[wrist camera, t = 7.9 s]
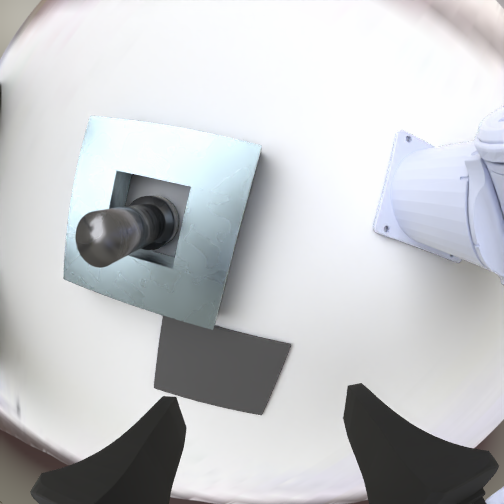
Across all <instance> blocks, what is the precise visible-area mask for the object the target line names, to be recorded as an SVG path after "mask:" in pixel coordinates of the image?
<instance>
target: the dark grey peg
mask: <svg viewBox="0 0 504 504" xmlns="http://www.w3.org/2000/svg"><path fill="white" fill-rule="evenodd" d="M178 226H179V217H178V213H177V210H176V208H175V206H174V205H173V204H172V203H171V202H170V201H169V200H168V199H166V198H164V197H161V196H144V197H140V198H138V199H136V200H135V201H133V202H132V203H131V204H130V205H129V206H125V207H118V208H111V209H104V210H98V211H92V212H89V213H87V214H86V215H84V216H83V217H82V218H81V220H80V221H79V223H78V225H77V228H76V234H75V240H76V246H77V249H78V251H79V254H80V255H81V257H82V258H83V259H84V260H85V261H86V262H87V263H88V264H90V265H91V266H94V267H98V268H103V267H106V266H109V265H110V264H112V263H114V262H116V261H118V260H120V259H122V258H124V257H126V256H127V255H129V254H131V253H133V252H135V251H137V250H139V249H144V250H154V249H157V248H159V247H161V246H163V245H165V244H166V243H168V242H169V241H171V240H172V239H173V237H174V236H175V234H176V232H177V230H178Z"/></svg>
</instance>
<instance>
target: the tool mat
mask: <svg viewBox="0 0 504 504" xmlns="http://www.w3.org/2000/svg"><path fill="white" fill-rule="evenodd" d="M290 347H291V344H289V343H284V342H279V341H275V340H270V339H266V338H262V337H257V336H253V335H249V334H245V333H241V332H237V331H233V330H229V329H225V328H221V327H218V326H214V328H213V330H211V329H208V328H204V327H200V326H197V325H193V324H190V323H186V322H183V321H180V320H176V319H173V318H170V317H167V316H163V320H162V326H161V333H160V340H159V348H158V355H157V363H156V372H155V381H154V388H156V389H159V390H162V391H165V392H168V393H171V394H174V395H178V396H181V397H184V398H188V399H192V400H195V401H199V402H203V403H207V404H211V405H215V406H219V407H223V408H228V409H232V410H237V411H242V412H247V413H252V414H258V415H262V414H263V412H264V409H265V407H266V405H267V403H268V400H269V398H270V396H271V393H272V391H273V389H274V386H275V384H276V382H277V379H278V377H279V374H280V372H281V370H282V367H283V365H284V362H285V360H286V357H287V355H288V352H289V350H290Z"/></svg>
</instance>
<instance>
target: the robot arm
mask: <svg viewBox="0 0 504 504" xmlns="http://www.w3.org/2000/svg"><path fill="white" fill-rule="evenodd" d="M406 137H408V138H409V142H407V141H406ZM386 225H387V227H388V230H387V231H386V232H384V227H385V226H386ZM373 228H374V231H375V232H376V233H378V234H381V235H384V236H387V237H390V238H393V239H396V240H398V241H401V242H404V243H407V244H409V245H412V246H415V247H417V248H420V249H423V250H425V251H428V252H431V253H433V254H436V255H439V256H441V257H444V258H446V259H449V260H451V261H454V262H456V263H460V262H461V261H462V259H463V260H466V261H468V262H470V263H473V264H475V265H478V266H480V267H482V268H485V269H487V270H489V271H492V272H494V273H496V274H497V275H498V276H499V277H500V279H501V283H502V285H504V106H502V107H501V108H499V109H497V110H495V111H494V112H492V113H491V114H489V115H488V116H487V117H486V118H484V119H483V120H482V122H481V123H480V125H479V128H478V132H477V134H476V136H475V139H474V141H468V142H462V143H456V144H450V145H445V146H439V147H434V146H432V145H431V144H429V143H427V142H425V141H423V140H421V139H420V138H418V137H416V136H414V135H412V134H410V133H408V132H406V131H404V130H400V131H398V132H397V133H396V136H395V141H394V146H393V150H392V155H391V160H390V164H389V168H388V173H387V177H386V181H385V185H384V189H383V193H382V196H381V200H380V204H379V207H378V211H377V215H376V218H375V221H374V226H373ZM450 254H451V256H450ZM343 419H344V423H345V428H346V432H347V436H348V439H349V442H350V444H351V447H352V450H353V452H354V455H355V457H356V460H357V463H358V465H359V468H360V470H361V473H362V476H363V479H364V482H365V487H366V491H367V496H368V500H369V504H504V487H502V488H501V489H500V490H498V491H497V492H496V493H494V494H493V495H491V496H490V497H489V498H488V499H486V500H484V499H483V497H482V496H484V495H485V491H484V490H483V487H484V486H485V485H486V484H487V483H488V481H489V480H490V479H491V478H492V477H493V476H494V474H495V473H496V471H497V469H498V467H499V465H498V463H497V462H496V460H495V459H494V457H493V456H492V455H491V453H490V452H489V451H485V450H478V449H473V448H468V447H464V446H460V445H457V444H453V443H450V442H448V441H445V440H442V439H440V438H438V437H435V436H433V435H431V434H429V433H427V432H425V431H423V430H421V429H419V428H418V427H416V426H414V425H413V424H411V423H409V422H408V421H406V420H405V419H404V418H402V417H401V416H399V415H398V414H397V413H395V412H394V411H393V410H392V409H390V408H389V407H388V406H387V405H386V404H384V403H383V402H382V401H381V400H380V399H379V398H377V397H376V396H375V395H374V394H373V393H372V392H371V391H370V390H369V389H368V388H366V387H365V386H364V385H363V384H362V383H360V384H355V385H350V386H348V389H347V397H346V404H345V410H344V417H343ZM185 435H186V425H185V422H184V419H183V416H182V413H181V410H180V407H179V404H178V401H177V398H176V397H168V396H163V397H162V398H161V399H160V400H159V401H158V402H157V403H156V404H155V405H154V406H153V407H152V408H151V409H150V410H149V411H148V412H147V413H146V414H145V415H144V416H143V417H142V418H141V419H140V420H139V421H138V422H137V423H136V424H135V425H134V426H132V427H131V428H130V429H129V430H128V431H127V432H125V433H124V434H123V435H122V436H121V437H120V438H118V439H117V440H116V441H114V442H113V443H111V444H110V445H109V446H107V447H105V448H104V449H102V450H101V451H99V452H97V453H95V454H94V455H92V456H90V457H88V458H86V459H84V460H82V461H80V462H77V463H75V464H72V465H70V466H67V467H64V468H61V469H57V470H53V471H49V472H45V473H42V474H41V475H40V477H39V478H38V480H37V482H36V483H35V485H34V486H33V488H32V490H31V495H32V497H33V498H34V499H35V500H36V501H37V502H38V503H39V504H169V500H170V494H171V489H172V485H173V481H174V478H175V475H176V471H177V468H178V465H179V462H180V458H181V455H182V451H183V448H184V442H185Z"/></svg>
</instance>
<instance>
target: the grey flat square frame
mask: <svg viewBox="0 0 504 504" xmlns="http://www.w3.org/2000/svg"><path fill="white" fill-rule="evenodd" d="M261 148H262V146H261V145H258V144H254V143H250V142H246V141H242V140H238V139H233V138H229V137H225V136H220V135H216V134H211V133H206V132H201V131H196V130H191V129H186V128H180V127H175V126H169V125H163V124H156V123H150V122H143V121H135V120H127V119H119V118H109V117H99V116H90V119H89V122H88V125H87V129H86V132H85V136H84V140H83V144H82V148H81V152H80V156H79V160H78V165H77V170H76V174H75V179H74V185H73V190H72V196H71V203H70V209H69V217H68V225H67V234H66V245H65V258H64V279H65V280H67V281H69V282H72V283H74V284H77V285H79V286H82V287H84V288H87V289H89V290H92V291H95V292H97V293H100V294H102V295H105V296H108V297H111V298H113V299H116V300H119V301H122V302H124V303H127V304H130V305H133V306H136V307H139V308H142V309H145V310H148V311H151V312H154V313H157V314H160V315H163V316H167V317H170V318H173V319H176V320H180V321H183V322H186V323H190V324H193V325H197V326H200V327H204V328H208V329H211V330H213V328H214V325H215V321H216V318H217V315H218V311H219V307H220V303H221V299H222V295H223V291H224V287H225V284H226V280H227V276H228V272H229V268H230V264H231V260H232V257H233V253H234V249H235V245H236V241H237V238H238V234H239V230H240V226H241V223H242V219H243V215H244V212H245V208H246V204H247V200H248V197H249V193H250V190H251V186H252V182H253V179H254V175H255V171H256V168H257V164H258V161H259V157H260V154H261ZM132 174H136V175H141V176H145V177H150V178H155V179H159V180H164V181H168V182H172V183H177V184H181V185H185V186H189V187H191V189H190V193H189V197H188V201H187V205H186V209H185V213H184V218H183V222H182V226H181V231H180V235H179V240H178V245H177V250H176V254H175V257H172V256H168V255H165V254H161V253H158V252H154V251H151V250H144V249H139V250H137V251H135V252H133V253H131V254H129V255H127V256H126V257H124V258H122V259H120V260H118V261H116V262H114V263H112V264H110V265H109V266H106V267H103V268H98V267H94V266H91V265H90V264H88V263H87V262H86V261H85V260H84V259H83V258H82V257H81V255H80V254H79V251H78V249H77V246H76V240H75V234H76V228H77V225H78V223H79V221H80V220H81V218H82V217H83V216H84V215H86V214H87V213H89V212H92V211H98V210H104V209H111V208H118V207H125V204H126V199H127V194H128V189H129V185H130V180H131V176H132Z"/></svg>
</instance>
